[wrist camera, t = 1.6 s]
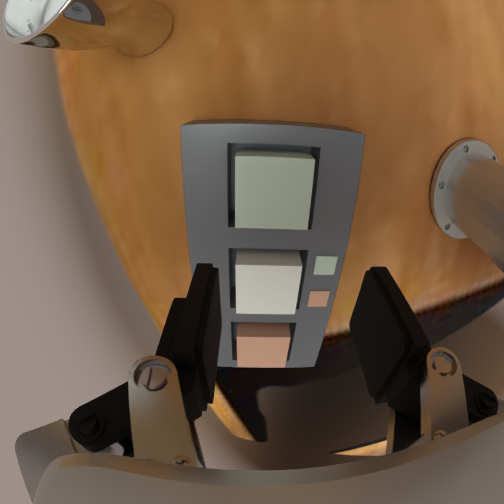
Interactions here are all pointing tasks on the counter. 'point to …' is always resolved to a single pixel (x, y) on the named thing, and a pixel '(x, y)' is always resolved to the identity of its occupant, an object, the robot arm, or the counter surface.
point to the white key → (267, 281)
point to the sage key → (273, 188)
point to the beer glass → (87, 24)
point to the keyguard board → (305, 241)
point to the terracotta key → (262, 344)
